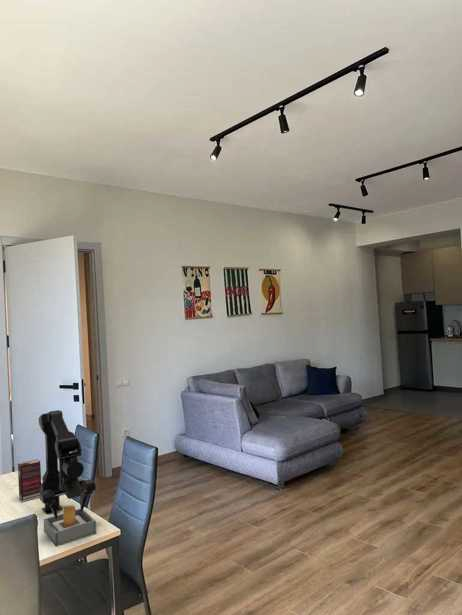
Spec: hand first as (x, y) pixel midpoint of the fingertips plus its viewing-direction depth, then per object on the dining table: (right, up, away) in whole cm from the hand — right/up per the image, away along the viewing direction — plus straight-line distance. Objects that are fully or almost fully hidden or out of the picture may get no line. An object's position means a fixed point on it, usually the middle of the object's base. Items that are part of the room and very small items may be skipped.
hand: (69, 514), depth 163 cm
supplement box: (-30, -9, +35) cm, 47 cm away
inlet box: (0, -6, 0) cm, 6 cm away
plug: (0, -6, 0) cm, 6 cm away
